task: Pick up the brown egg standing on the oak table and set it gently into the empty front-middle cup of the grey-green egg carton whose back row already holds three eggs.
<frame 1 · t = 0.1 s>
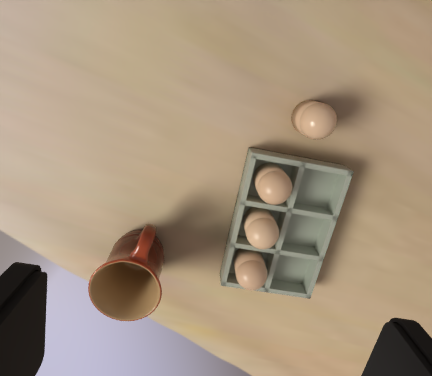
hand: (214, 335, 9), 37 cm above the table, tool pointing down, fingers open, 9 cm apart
egg: (307, 117, 44), on the table
carton: (278, 221, 48), on the table
mug: (144, 239, 49), on the table
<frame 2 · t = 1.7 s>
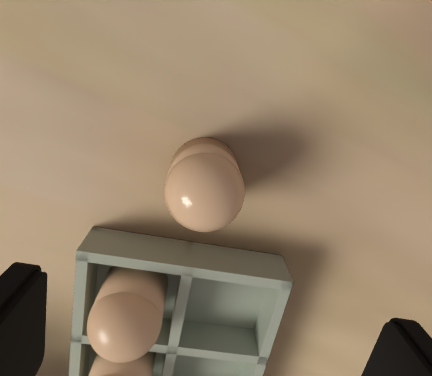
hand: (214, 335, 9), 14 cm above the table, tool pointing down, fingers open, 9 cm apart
egg: (204, 170, 22), on the table
carton: (169, 348, 27), on the table
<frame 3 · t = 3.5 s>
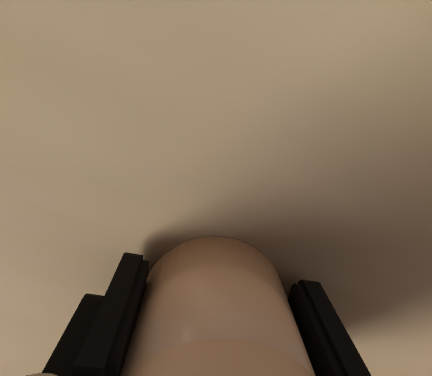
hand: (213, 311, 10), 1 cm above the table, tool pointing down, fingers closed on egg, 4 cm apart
egg: (213, 298, 10), on the table, touching gripper
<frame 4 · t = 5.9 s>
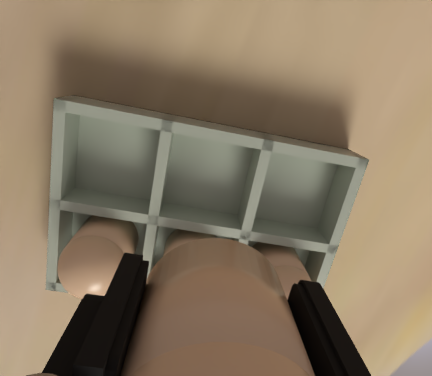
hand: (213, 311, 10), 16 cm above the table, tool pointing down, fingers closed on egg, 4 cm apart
egg: (213, 299, 10), point 15 cm above the table, touching gripper
carton: (199, 209, 26), on the table
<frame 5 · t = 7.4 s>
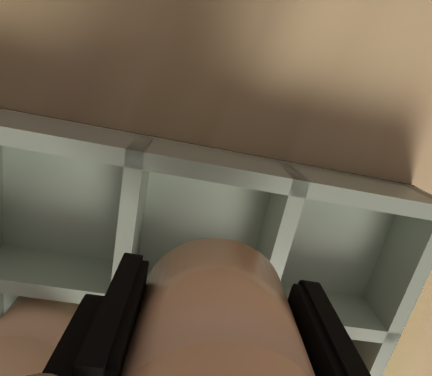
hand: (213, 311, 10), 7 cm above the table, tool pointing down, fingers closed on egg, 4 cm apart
egg: (213, 300, 10), point 7 cm above the table, touching gripper
carton: (192, 271, 18), on the table
when the fingers open (4 cm above the table, at t = 8.3 s): egg drops 3 cm, resting on carton.
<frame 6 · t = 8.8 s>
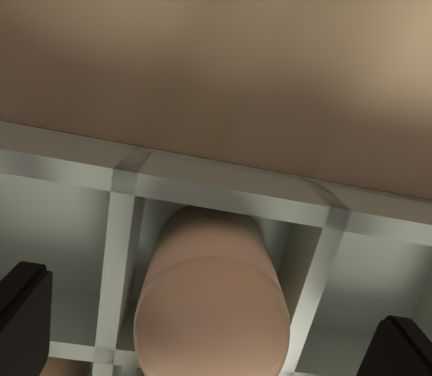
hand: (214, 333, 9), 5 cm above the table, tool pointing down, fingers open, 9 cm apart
egg: (210, 251, 13), point 1 cm above the table, touching carton
carton: (197, 307, 15), on the table
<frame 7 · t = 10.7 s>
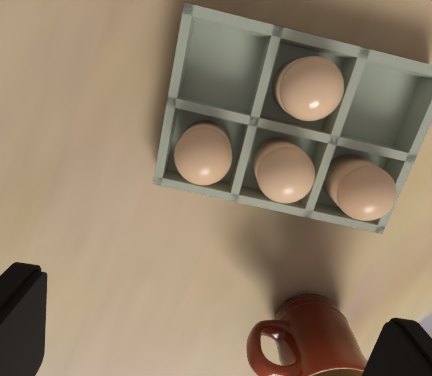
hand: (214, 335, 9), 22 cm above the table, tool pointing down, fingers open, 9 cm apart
egg: (298, 87, 27), point 1 cm above the table, touching carton
carton: (286, 124, 29), on the table
mug: (292, 310, 35), on the table
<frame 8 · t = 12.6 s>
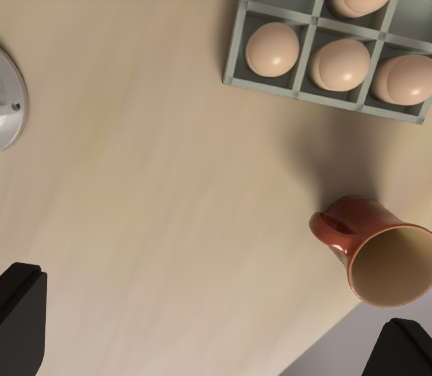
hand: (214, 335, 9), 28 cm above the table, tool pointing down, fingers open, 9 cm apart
carton: (335, 32, 33), on the table
mug: (337, 215, 39), on the table
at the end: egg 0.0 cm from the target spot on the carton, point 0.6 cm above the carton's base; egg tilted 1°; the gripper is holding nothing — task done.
